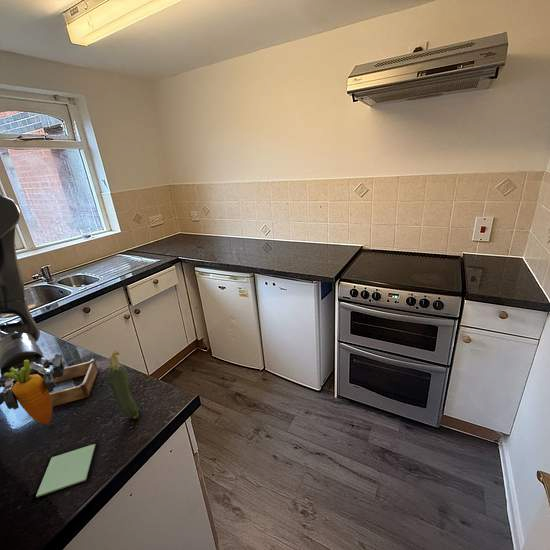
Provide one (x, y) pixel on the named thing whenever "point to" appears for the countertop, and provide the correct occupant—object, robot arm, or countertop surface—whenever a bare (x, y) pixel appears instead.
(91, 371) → the crate
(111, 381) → the vegetable
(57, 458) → the mat
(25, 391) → the carrot
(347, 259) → the countertop surface
